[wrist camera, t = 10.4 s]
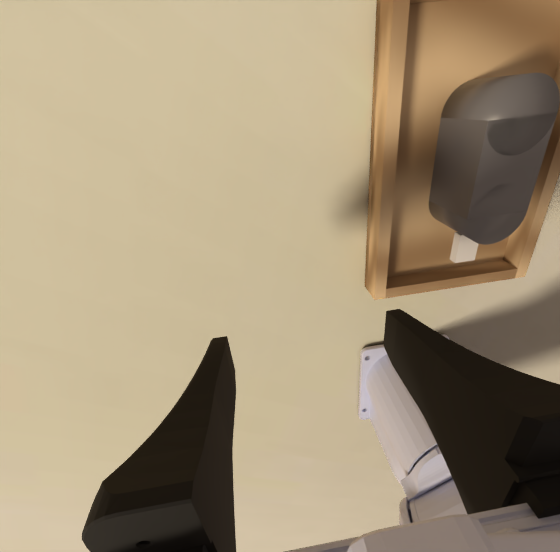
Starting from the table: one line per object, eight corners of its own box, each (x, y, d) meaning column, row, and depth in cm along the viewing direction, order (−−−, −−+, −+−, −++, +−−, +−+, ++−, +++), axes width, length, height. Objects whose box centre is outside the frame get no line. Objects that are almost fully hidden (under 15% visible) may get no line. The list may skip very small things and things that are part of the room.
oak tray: (504, 264, 25) (524, 276, 23) (364, 285, 24) (374, 299, 23) (590, -32, 16) (633, -48, 15) (377, -11, 16) (395, -26, 14)
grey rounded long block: (468, 244, 23) (509, 269, 20) (421, 251, 23) (454, 277, 19) (505, 75, 18) (570, 68, 14) (445, 82, 18) (497, 76, 14)
